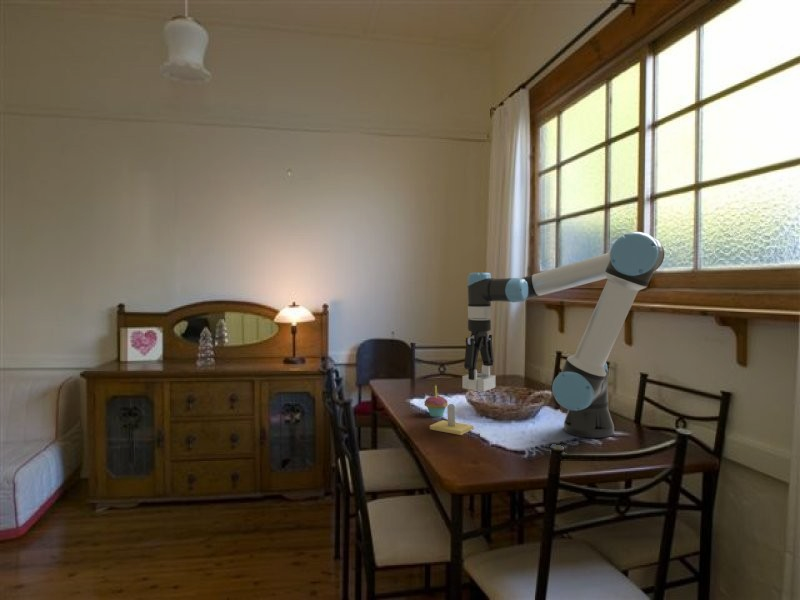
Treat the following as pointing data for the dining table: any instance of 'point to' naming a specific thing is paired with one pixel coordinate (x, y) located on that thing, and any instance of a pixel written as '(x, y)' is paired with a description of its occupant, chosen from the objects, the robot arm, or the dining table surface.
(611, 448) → the dining table surface
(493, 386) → the beige square box
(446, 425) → the keeper post
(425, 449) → the dining table surface
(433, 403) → the cupcake
